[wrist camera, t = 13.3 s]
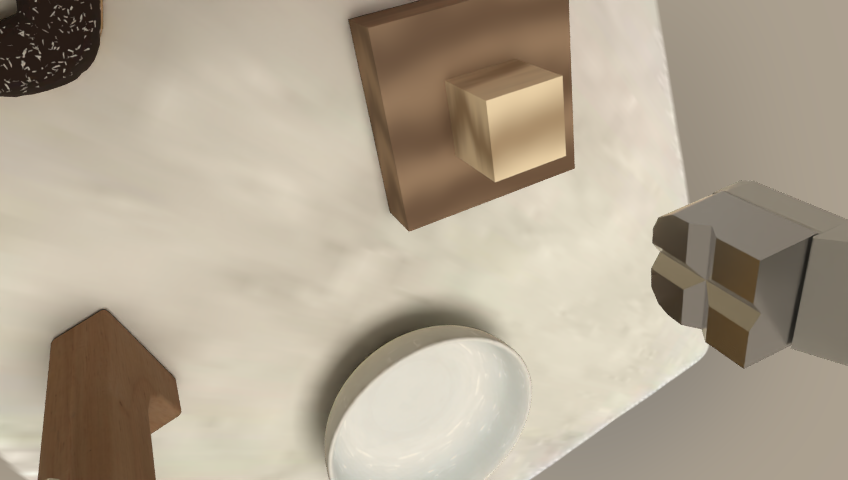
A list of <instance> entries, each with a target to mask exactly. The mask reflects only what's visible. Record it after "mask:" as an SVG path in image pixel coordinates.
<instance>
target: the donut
mask: <svg viewBox="0 0 848 480" xmlns="http://www.w3.org/2000/svg"><path fill="white" fill-rule="evenodd" d="M16 1H17V12H16V14H14V15H12V16H10V17H8V18H6V19H4V20H2V21H0V96H4V97H18V96H22V95H32V94H36V93H40V92H44V91H48V90H51V89H54V88H57V87H60V86H63V85H66V84H68V83H70V82H72V81H74V80H76V79H77V78H78V77H79V76H80V75H81V73H83V72H84V71H86V70H87V69H88V68H89V67H90V66H91V64H92V63H93V61H94V60H95V57H96V55H97V52H98V48H99V45H100V36H101V32H102V29H103V4H102V0H16Z"/></svg>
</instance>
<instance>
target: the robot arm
mask: <svg viewBox="0 0 848 480" xmlns="http://www.w3.org/2000/svg"><path fill="white" fill-rule="evenodd" d="M652 243H653V244H654V246H655V247H656V248H657V249H658V250H659V251H660V253H659V255H658V257H657V259H656V260H655V262H654V264H653V266H652V268H651V287H652V289H653V292H654V294H655V296H656V299H657V301H658V303H659V305H660V306H661V307H662V308H663V310H664V311H665V312H666V313H667V314H668V315H669V316H670V317H671V318H673V319H674V320H676V321H677V322H678V323H680V324H681V325H685V326H689V327H694V328H699V329H702V332H703V336H704V339H705V342H706V343H708V344H709V345H710V346H712V347H713V348H715V349H716V350H718V351H719V352H720V353H722V354H723V355H725V356H726V357H728V358H729V359H730V360H732V361H733V362H735V363H736V364H738V365H739V366H740V367H742V368H743V369H745V368H747V367H748V366H751V365H752V364H754V363H757V362H759V361H761V360H763V359H764V358H766V357H769V356H770V355H773V354H774V353H777V352H779V351H780V350H783V349H784V348H786V347H788V346H790V345H792V346H791V348H792V349H794V350H797V351H801V352H804V353H808V354H810V355H814V356H817V357H820V358H824V359H827V360H830V361H834V362H837V363H840V364H844V365H847V366H848V219H845V218H843V217H840V216H838V215H836V214H833V213H831V212H828V211H826V210H823V209H821V208H818V207H816V206H814V205H811V204H809V203H806V202H804V201H801V200H799V199H796V198H794V197H792V196H789V195H786V194H784V193H782V192H779V191H776V190H774V189H772V188H770V187H767V186H765V185H762V184H760V183H757V182H755V181H742V180H741V181H738V182H736V183H734V184H731V185H729V186H727V187H725V188H723V189H720V190H718V191H716V192H714V193H713V194H712V195H709V196H707V197H704V198H702V199H700V200H697V201H695V202H693V203H691V204H688V205H686V206H684V207H681V208H679V209H677V210H675V211H672V212H670V213H668V214H665V215H663V216H661V217H659V218H658V220H657V222H656V224H655V226H654V228H653V240H652ZM46 480H60V479H54V478H48V479H46Z"/></svg>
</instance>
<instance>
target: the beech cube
mask: <svg viewBox="0 0 848 480" xmlns="http://www.w3.org/2000/svg"><path fill="white" fill-rule="evenodd" d="M445 86H446V93H447V100H448V106H449V113H450V120H451V127H452V134H453V141H454V148H455V155H456V156H457V157H459V158H460V159H462V160H463V161H464V162H466V163H467V164H469V165H470V166H472V167H473V168H475V169H476V170H478V171H479V172H481V173H482V174H484V175H485V176H486V177H488V178H489V179H491V180H492V181H494V182H498V181H500V180H503V179H506V178H508V177H511V176H514V175H516V174H519V173H522V172H524V171H527V170H530V169H532V168H535V167H538V166H540V165H543V164H546V163H548V162H551V161H554V160H556V159H559V158H562V157H564V156H566V144H565V121H564V98H563V76H562V75H559V74H556V73H554V72H551V71H548V70H545V69H542V68H540V67H537V66H534V65H531V64H528V63H526V62H523V61H520V60H517V59H512V60H509V61H506V62H503V63H500V64H496V65H493V66H490V67H487V68H484V69H480V70H477V71H474V72H471V73H468V74H464V75H461V76H458V77H455V78H452V79H448V80H445Z"/></svg>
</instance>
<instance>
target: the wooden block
mask: <svg viewBox="0 0 848 480" xmlns="http://www.w3.org/2000/svg"><path fill="white" fill-rule="evenodd" d="M180 414H181V407H180V401H179V395H178V390H177V384H176V380H175V378H174V377H173V376H172V375H171V374H170V373H169V372H168V371H167V370H166V369H165V368H164V367H163V366H162V365H161V364H160V363H159V362H158V361H157V360H156V359H155V358H154V357H153V356H152V355H151V354H150V353H149V352H148V351H147V350H146V349H145V348H144V347H143V346H142V345H141V344H140V343H139V342H138V341H137V340H136V339H135V338H134V337H133V336H132V335H131V334H130V333H129V332H128V331H127V330H126V329H125V328H124V327H123V326H122V325H121V324H120V323H119V322H118V321H117V320H116V319H115V318H114V317H113V316H112V315H111V314H110V313H109V312H108V311H106V310H101V311H100V312H98V313H96V314H95V315H93V316H91V317H90V318H88V319H86V320H85V321H83V322H82V323H80V324H78V325H77V326H75V327H73V328H72V329H70V330H69V331H67V332H65V333H64V334H62V335H60V336H59V337H57V338H56V339H54V340H53V341H52V343H51V350H50V361H49V371H48V381H47V391H46V401H45V412H44V422H43V432H42V442H41V453H40V463H39V473H38V480H46V479H48V478H54V479H60V480H156V478H155V469H154V460H153V450H152V441H151V434H152V433H153V432H155V431H156V430H158V429H159V428H161V427H162V426H164V425H165V424H167V423H168V422H170V421H171V420H173V419H175V418H176V417H178V416H179V415H180Z"/></svg>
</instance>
